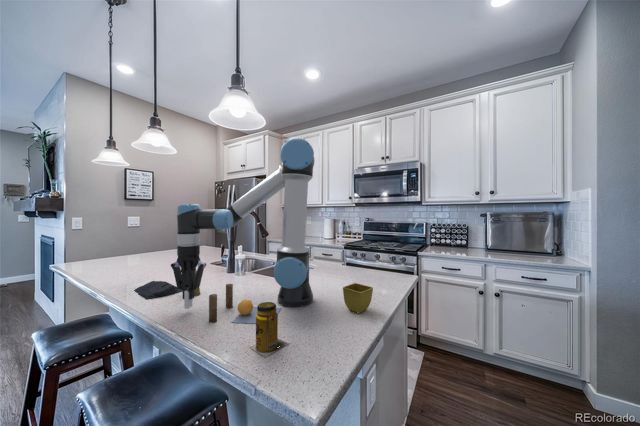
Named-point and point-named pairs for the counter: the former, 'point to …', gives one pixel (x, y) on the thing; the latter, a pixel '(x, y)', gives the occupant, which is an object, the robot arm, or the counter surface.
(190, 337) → the counter surface
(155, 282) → the dark slate chunk
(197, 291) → the cork
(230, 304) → the post
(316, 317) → the counter surface
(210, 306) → the post
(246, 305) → the ball
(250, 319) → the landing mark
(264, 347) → the condiment
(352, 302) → the flower pot
